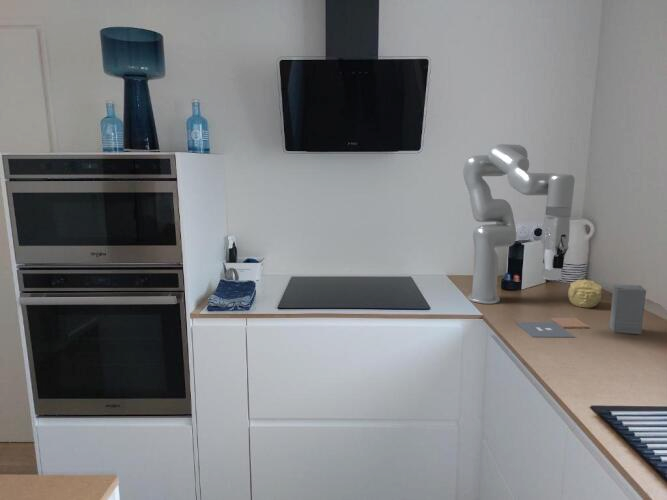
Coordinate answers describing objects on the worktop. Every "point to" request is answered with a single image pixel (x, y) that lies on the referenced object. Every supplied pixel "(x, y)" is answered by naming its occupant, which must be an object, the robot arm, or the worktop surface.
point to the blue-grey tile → (544, 329)
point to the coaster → (569, 323)
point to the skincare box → (627, 308)
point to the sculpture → (584, 293)
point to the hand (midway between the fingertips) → (552, 265)
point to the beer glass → (550, 261)
